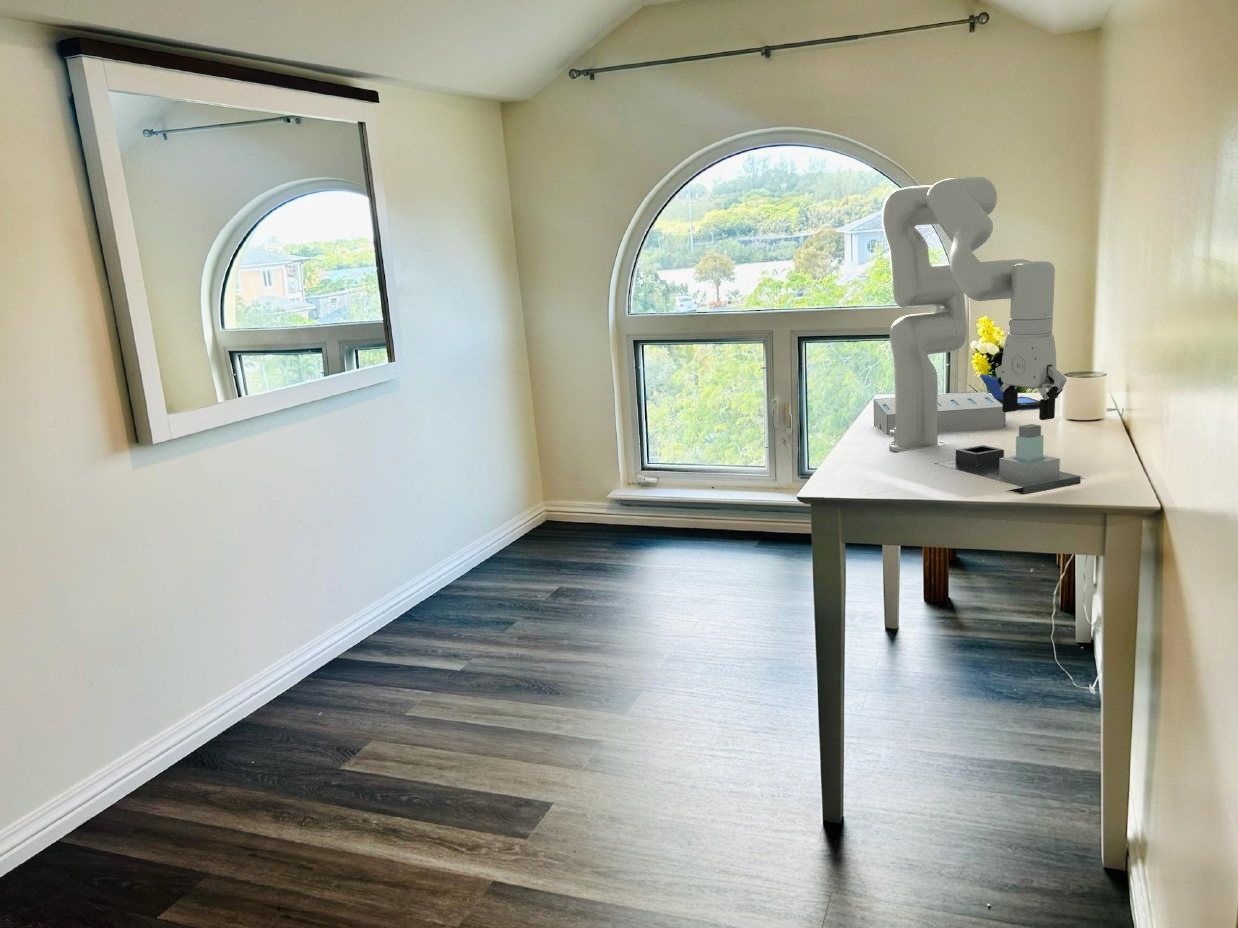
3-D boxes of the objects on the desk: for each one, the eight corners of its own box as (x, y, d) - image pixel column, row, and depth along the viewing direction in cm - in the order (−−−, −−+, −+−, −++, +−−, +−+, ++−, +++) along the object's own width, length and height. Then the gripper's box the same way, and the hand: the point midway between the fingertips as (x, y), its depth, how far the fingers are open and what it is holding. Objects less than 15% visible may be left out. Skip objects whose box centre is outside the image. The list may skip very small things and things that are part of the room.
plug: (1015, 475, 190) (1016, 426, 188) (1031, 472, 191) (1031, 423, 189) (1027, 478, 187) (1028, 428, 185) (1042, 475, 189) (1043, 425, 187)
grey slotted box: (887, 436, 246) (886, 407, 245) (874, 426, 260) (873, 399, 259) (1005, 428, 245) (1005, 399, 243) (985, 419, 259) (986, 391, 257)
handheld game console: (1048, 408, 266) (1049, 375, 264) (1000, 412, 266) (1000, 379, 264) (1024, 400, 281) (1024, 369, 279) (978, 404, 281) (979, 372, 279)
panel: (933, 470, 206) (933, 447, 205) (986, 461, 210) (986, 438, 209) (1023, 494, 182) (1023, 468, 181) (1080, 483, 186) (1081, 458, 185)
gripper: (983, 326, 190) (981, 411, 194) (1050, 333, 174) (1046, 425, 178) (1013, 322, 192) (1010, 406, 196) (1082, 328, 177) (1077, 419, 181)
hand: (1027, 415), depth 187 cm, fingers open, 9 cm apart
